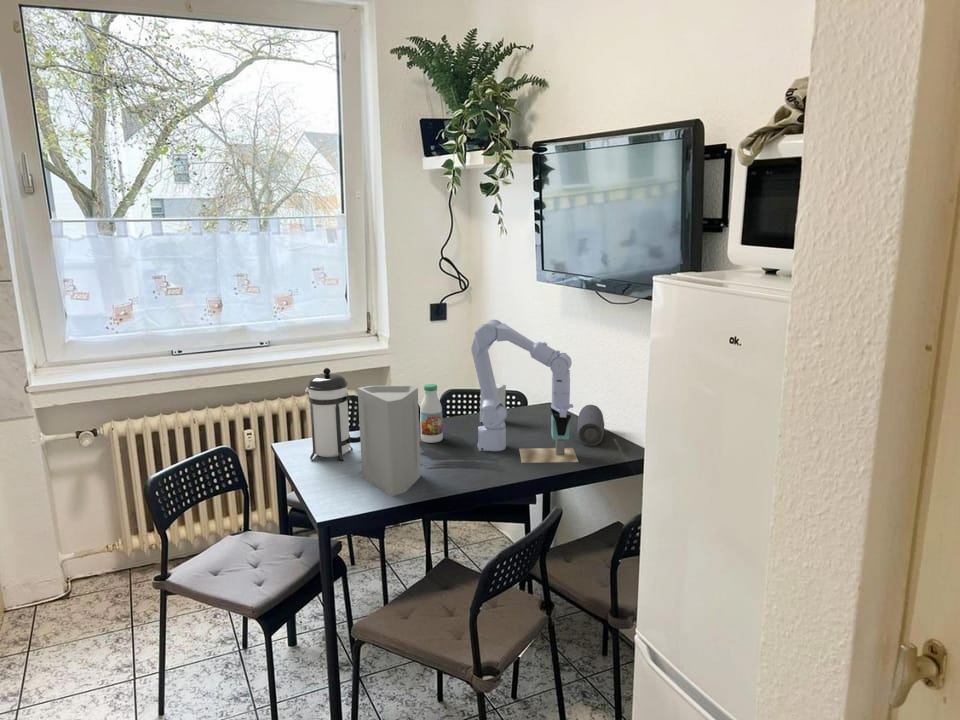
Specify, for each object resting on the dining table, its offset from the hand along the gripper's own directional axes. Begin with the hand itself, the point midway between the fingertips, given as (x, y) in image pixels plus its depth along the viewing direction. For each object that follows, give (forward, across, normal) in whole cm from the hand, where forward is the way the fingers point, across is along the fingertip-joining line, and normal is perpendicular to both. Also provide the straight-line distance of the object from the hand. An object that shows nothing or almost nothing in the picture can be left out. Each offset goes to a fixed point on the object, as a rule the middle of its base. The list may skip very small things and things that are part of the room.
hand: (560, 432), depth 227 cm
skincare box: (+9, +40, +21) cm, 46 cm away
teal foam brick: (+2, 0, 0) cm, 2 cm away
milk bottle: (+9, +20, +43) cm, 48 cm away
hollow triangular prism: (+9, -17, +51) cm, 55 cm away
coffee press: (+9, +5, +74) cm, 75 cm away
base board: (+9, -1, +4) cm, 10 cm away
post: (+7, 0, 0) cm, 7 cm away
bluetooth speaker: (+9, +19, -13) cm, 25 cm away
